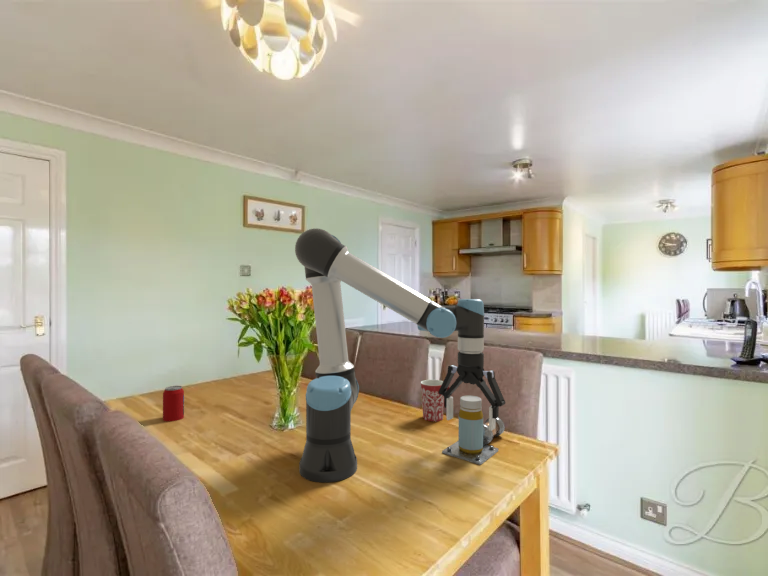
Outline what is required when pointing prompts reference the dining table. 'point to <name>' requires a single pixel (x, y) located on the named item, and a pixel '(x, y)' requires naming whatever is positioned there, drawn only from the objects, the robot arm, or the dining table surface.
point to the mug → (432, 400)
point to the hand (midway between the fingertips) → (470, 424)
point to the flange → (487, 450)
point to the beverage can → (173, 403)
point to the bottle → (470, 425)
